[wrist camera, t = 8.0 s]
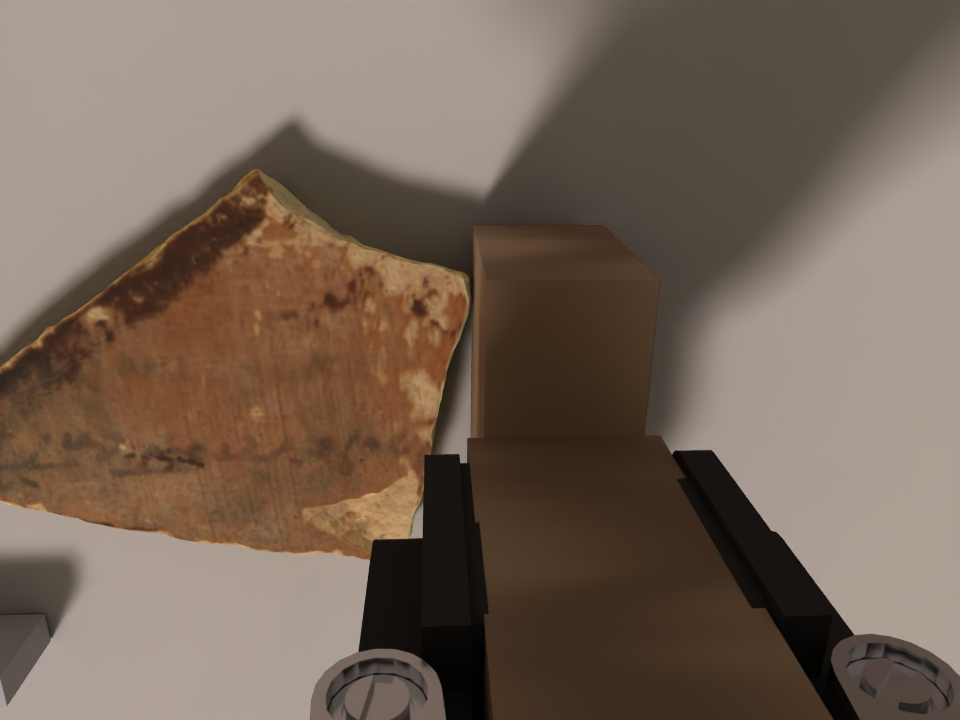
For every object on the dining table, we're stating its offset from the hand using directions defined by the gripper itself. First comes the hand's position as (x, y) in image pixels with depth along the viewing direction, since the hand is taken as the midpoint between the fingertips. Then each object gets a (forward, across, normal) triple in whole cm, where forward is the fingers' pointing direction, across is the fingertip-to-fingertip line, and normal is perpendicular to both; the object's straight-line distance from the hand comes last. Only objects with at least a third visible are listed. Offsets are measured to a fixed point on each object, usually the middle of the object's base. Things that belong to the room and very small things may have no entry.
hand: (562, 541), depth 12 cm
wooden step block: (+5, 0, 0) cm, 5 cm away
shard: (+5, +6, 0) cm, 8 cm away
